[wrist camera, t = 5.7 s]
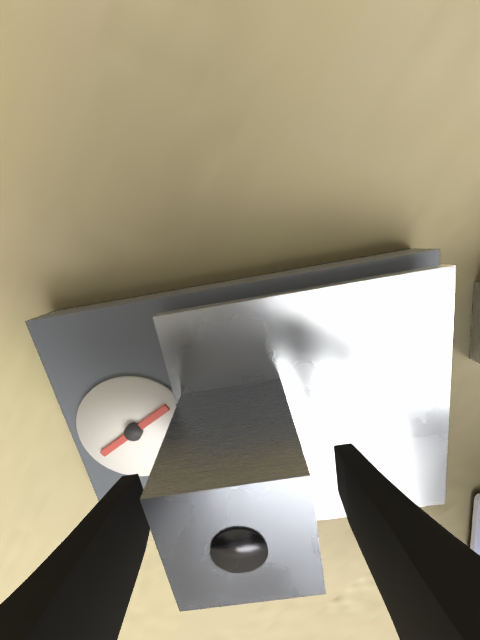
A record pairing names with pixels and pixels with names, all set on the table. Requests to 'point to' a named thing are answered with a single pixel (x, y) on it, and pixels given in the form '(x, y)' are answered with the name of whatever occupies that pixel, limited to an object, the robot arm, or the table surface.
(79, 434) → the scale housing
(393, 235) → the table surface
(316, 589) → the block
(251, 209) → the table surface
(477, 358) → the block
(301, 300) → the pan
